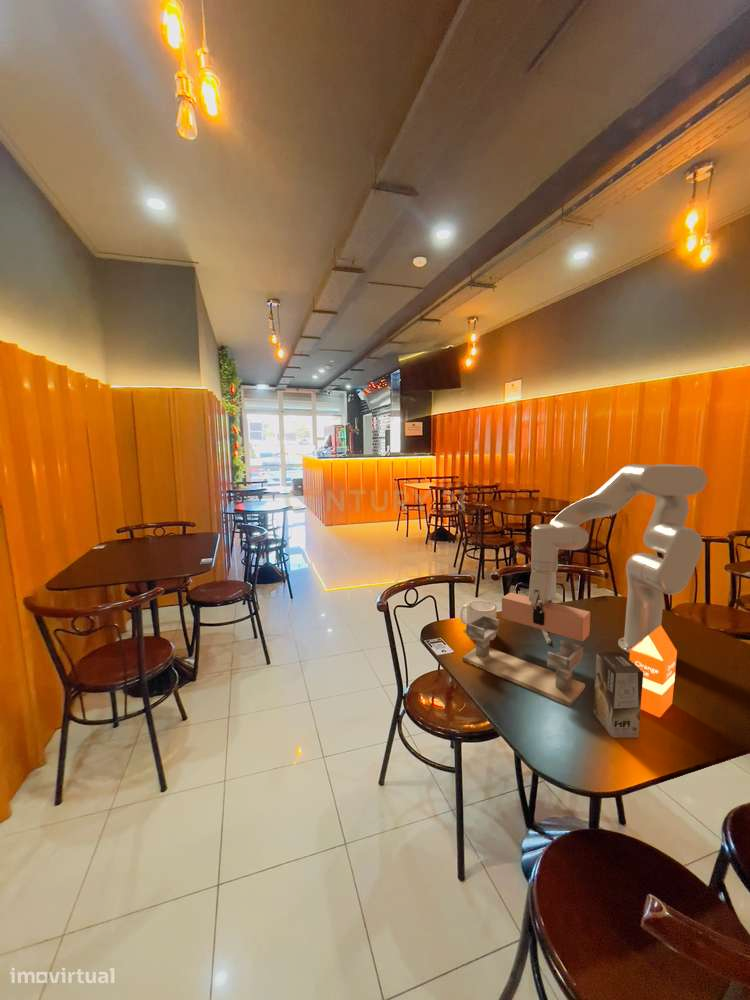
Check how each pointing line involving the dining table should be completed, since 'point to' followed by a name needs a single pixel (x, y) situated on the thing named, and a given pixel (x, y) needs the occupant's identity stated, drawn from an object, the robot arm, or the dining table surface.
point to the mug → (477, 611)
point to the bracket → (546, 636)
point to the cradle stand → (526, 664)
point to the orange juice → (656, 670)
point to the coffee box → (618, 694)
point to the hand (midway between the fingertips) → (543, 619)
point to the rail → (548, 616)
